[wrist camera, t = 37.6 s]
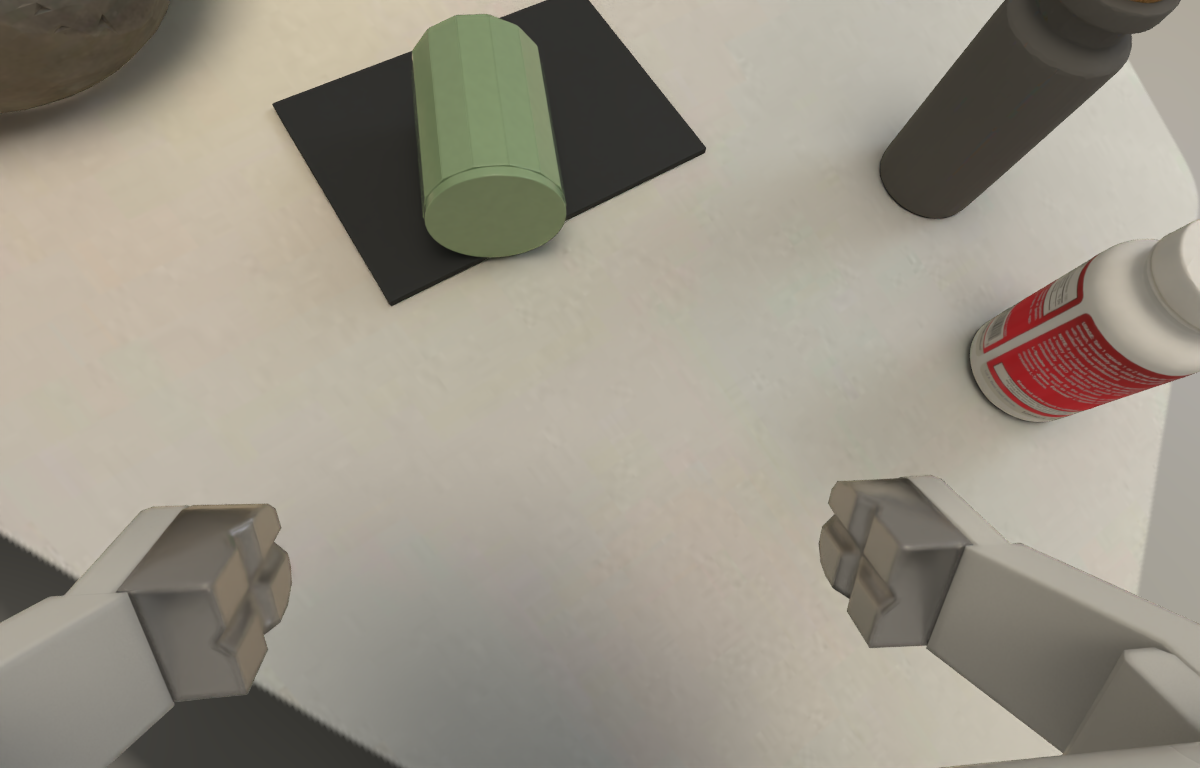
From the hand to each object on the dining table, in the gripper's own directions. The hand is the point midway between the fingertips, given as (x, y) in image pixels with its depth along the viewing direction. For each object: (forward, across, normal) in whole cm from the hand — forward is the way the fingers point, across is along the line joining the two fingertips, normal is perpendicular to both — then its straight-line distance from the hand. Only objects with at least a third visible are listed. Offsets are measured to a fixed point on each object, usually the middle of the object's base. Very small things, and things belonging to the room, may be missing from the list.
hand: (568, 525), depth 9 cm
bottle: (+29, -24, -1) cm, 37 cm away
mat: (+31, +2, -3) cm, 31 cm away
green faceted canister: (+22, +2, 0) cm, 22 cm away
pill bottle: (+20, -26, +7) cm, 34 cm away
